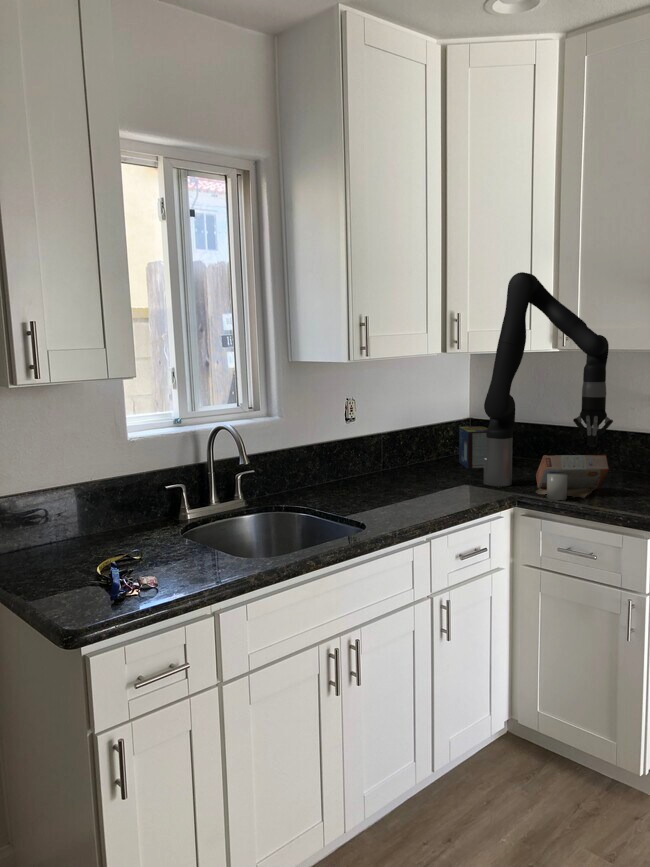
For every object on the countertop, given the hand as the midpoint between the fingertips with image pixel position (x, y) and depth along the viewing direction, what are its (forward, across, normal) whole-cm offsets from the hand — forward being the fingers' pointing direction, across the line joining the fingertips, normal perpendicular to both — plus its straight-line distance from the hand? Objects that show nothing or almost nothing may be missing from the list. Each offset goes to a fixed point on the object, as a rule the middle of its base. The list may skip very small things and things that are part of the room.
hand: (592, 446), depth 242 cm
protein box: (+16, -53, +33) cm, 65 cm away
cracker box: (+9, +3, +3) cm, 10 cm away
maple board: (+16, -8, 0) cm, 18 cm away
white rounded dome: (+16, -8, -13) cm, 22 cm away
